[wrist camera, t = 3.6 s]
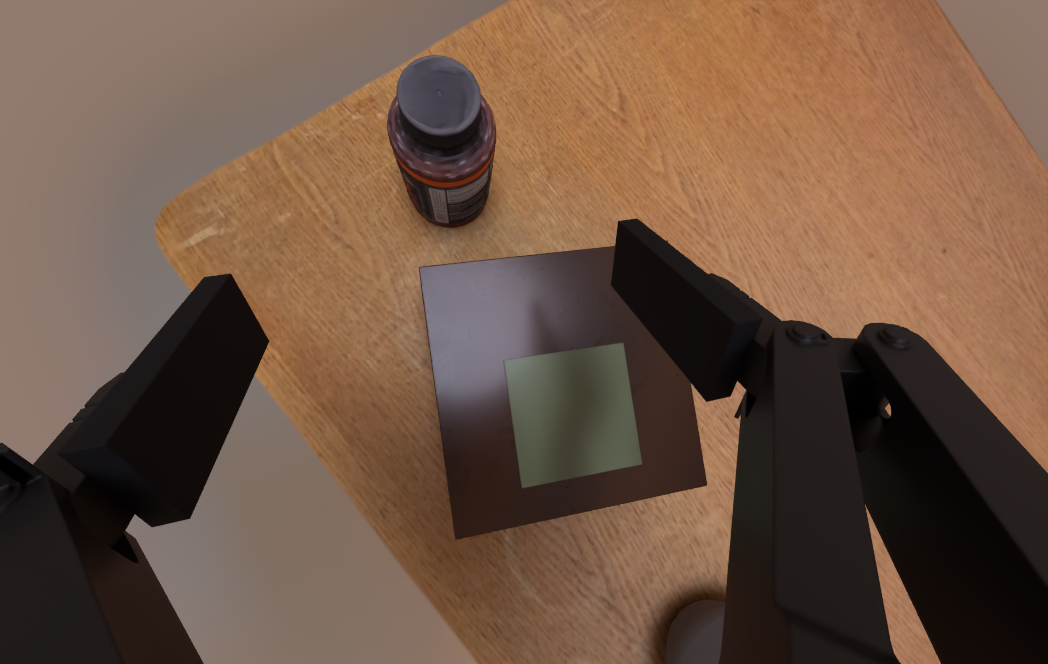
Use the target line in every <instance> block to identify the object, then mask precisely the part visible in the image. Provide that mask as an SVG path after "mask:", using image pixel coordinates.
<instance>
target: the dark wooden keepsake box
mask: <svg viewBox="0 0 1048 664" xmlns="http://www.w3.org/2000/svg"><path fill="white" fill-rule="evenodd" d="M666 242H668V241H666ZM614 253H615V246H611V247H601V248H592V249H583V250H573V251H564V252H555V253H545V254H536V255H527V256H517V257H508V258H499V259H489V260H480V261H471V262H461V263H452V264H443V265H433V266H424V267H419V273H420V280H421V288H422V295H423V303H424V310H425V318H426V325H427V332H428V340H429V347H430V355H431V362H432V370H433V377H434V385H435V392H436V400H437V407H438V415H439V422H440V430H441V437H442V444H443V452H444V459H445V467H446V474H447V482H448V489H449V497H450V504H451V512H452V519H453V527H454V534H455V539H456V540H457V539H462V538H466V537H471V536H476V535H480V534H485V533H490V532H494V531H499V530H503V529H508V528H513V527H517V526H522V525H527V524H531V523H536V522H540V521H545V520H550V519H554V518H559V517H564V516H568V515H573V514H578V513H582V512H587V511H591V510H596V509H601V508H605V507H610V506H615V505H619V504H624V503H629V502H633V501H638V500H642V499H647V498H652V497H656V496H661V495H666V494H670V493H675V492H679V491H684V490H689V489H693V488H698V487H703V486H707V481H706V474H705V468H704V462H703V456H702V450H701V444H700V437H699V431H698V425H697V419H696V413H695V407H694V400H693V394H692V388H691V382H690V381H689V380H688V379H687V377H686V376H685V375H684V374H683V372H682V371H681V370H680V369H679V368H678V366H677V365H676V364H675V363H674V362H673V360H672V359H671V358H670V357H669V355H668V354H667V353H666V352H665V351H664V349H663V348H662V347H661V346H660V345H659V343H658V342H657V341H656V340H655V338H654V337H653V336H652V335H651V334H650V332H649V331H648V330H647V329H646V328H645V326H644V325H643V324H642V323H641V321H640V320H639V319H638V318H637V317H636V315H635V314H634V313H633V312H632V310H631V309H630V308H629V307H628V306H627V304H626V303H625V302H624V301H623V300H622V298H621V297H620V296H619V295H618V293H617V292H616V291H615V290H614V289H613V287H612V286H611V279H612V270H613V262H614Z"/></svg>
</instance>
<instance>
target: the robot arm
mask: <svg viewBox="0 0 1048 664" xmlns="http://www.w3.org/2000/svg"><path fill="white" fill-rule="evenodd" d="M611 286H612V287H613V289H614V290H615V291H616V292H617V293H618V295H619V296H620V297H621V298H622V300H623V301H624V302H625V303H626V304H627V306H628V307H629V308H630V309H631V310H632V312H633V313H634V314H635V315H636V317H637V318H638V319H639V320H640V321H641V323H642V324H643V325H644V326H645V328H646V329H647V330H648V331H649V332H650V334H651V335H652V336H653V337H654V338H655V340H656V341H657V342H658V343H659V345H660V346H661V347H662V348H663V349H664V351H665V352H666V353H667V354H668V355H669V357H670V358H671V359H672V360H673V362H674V363H675V364H676V365H677V366H678V368H679V369H680V370H681V371H682V372H683V374H684V375H685V376H686V377H687V379H688V380H689V381H690V382H691V383H692V385H693V386H694V387H695V388H696V390H697V391H698V392H699V393H700V394H701V396H702V397H703V398H704V399H705V400H706V402H708V401H712V400H717V399H721V398H726V397H730V396H731V394H732V392H733V389H734V387H735V385H736V382H737V381H738V382H739V383H740V384H741V385H742V386H743V387H744V388H745V389H746V392H745V394H744V396H743V399H742V401H741V403H740V405H739V408H738V410H737V412H736V414H735V416H734V417H735V418H739V416H740V415H741V420H740V432H739V444H738V456H737V467H736V479H735V491H734V503H733V515H732V527H731V539H730V551H729V563H728V574H727V586H726V598H725V610H724V622H723V634H722V646H721V654H720V659H719V664H901V663H899V661H898V659H897V658H896V656H895V654H894V651H893V648H892V645H891V641H890V635H889V630H888V625H887V619H886V614H885V609H884V603H883V598H882V593H881V587H880V582H879V577H878V571H877V566H876V561H875V555H874V550H873V544H872V539H871V534H870V528H869V523H868V518H867V512H866V507H867V509H868V511H869V513H870V515H871V517H872V519H873V521H874V524H875V526H876V528H877V530H878V532H879V534H880V536H881V538H882V540H883V542H884V545H885V547H886V549H887V551H888V553H889V555H890V557H891V559H892V561H893V563H894V566H895V568H896V570H897V572H898V574H899V576H900V578H901V580H902V582H903V585H904V587H905V589H906V591H907V593H908V595H909V597H910V599H911V601H912V603H913V606H914V608H915V610H916V612H917V614H918V616H919V618H920V620H921V622H922V624H923V627H924V629H925V631H926V633H927V635H928V637H929V639H930V641H931V643H932V645H933V648H934V650H935V652H936V654H937V656H938V658H939V660H940V662H941V664H1048V473H1047V472H1046V471H1045V470H1044V469H1043V468H1042V467H1041V465H1040V464H1039V463H1038V462H1037V461H1036V460H1035V459H1034V458H1033V457H1032V456H1031V455H1030V453H1029V452H1028V451H1027V450H1026V449H1025V448H1024V447H1023V446H1022V445H1021V444H1020V443H1019V441H1018V440H1017V439H1016V438H1015V437H1014V436H1013V435H1012V434H1011V433H1010V432H1009V431H1008V429H1007V428H1006V427H1005V426H1004V425H1003V424H1002V423H1001V422H1000V421H999V420H998V419H997V417H996V416H995V415H994V414H993V413H992V412H991V411H990V410H989V409H988V408H987V406H986V405H985V404H984V403H983V402H982V401H981V400H980V399H979V398H978V397H977V396H976V394H975V393H974V392H973V391H972V390H971V389H970V388H969V387H968V386H967V385H966V384H965V382H964V381H963V380H962V379H961V378H960V377H959V376H958V375H957V374H956V373H955V372H954V370H953V369H952V368H951V367H950V366H949V365H948V364H947V363H946V362H945V361H944V360H943V358H942V357H941V356H940V355H939V354H938V353H937V352H936V351H935V350H934V349H933V348H932V346H931V345H930V344H929V343H928V342H927V341H926V340H924V339H923V338H922V337H921V336H919V335H918V334H916V333H914V332H912V331H910V330H909V329H907V328H904V327H900V326H898V325H894V324H886V323H870V324H868V325H865V326H864V328H863V329H862V331H861V333H860V334H859V336H858V337H857V339H850V338H832V337H831V336H830V335H829V334H828V333H827V332H826V331H824V330H823V329H821V328H819V327H817V326H815V325H812V324H809V323H806V322H802V321H793V320H789V321H781V320H780V319H779V318H777V317H776V316H775V315H773V314H772V313H771V312H769V311H768V310H767V309H766V308H764V307H763V306H762V305H760V304H759V303H758V302H756V301H755V300H754V299H752V298H749V296H748V295H747V294H746V293H744V292H743V291H740V289H739V288H738V287H736V286H735V285H734V284H733V283H731V282H730V281H729V280H727V279H724V278H722V277H720V276H717V275H715V274H713V273H711V274H707V273H706V272H704V271H703V270H702V269H701V268H699V267H698V266H697V265H695V264H694V263H693V262H692V261H690V260H689V259H688V258H687V257H685V256H684V255H683V254H682V253H680V252H679V251H678V250H676V249H675V248H674V247H673V246H671V245H670V244H669V243H668V242H666V241H665V240H664V239H662V238H661V237H660V236H659V235H657V234H656V233H655V232H654V231H652V230H651V229H650V228H649V227H647V226H646V225H645V224H643V223H642V222H641V221H640V220H638V219H630V220H623V221H618V227H617V236H616V244H615V253H614V262H613V270H612V279H611ZM268 343H269V340H268V338H267V336H266V335H265V333H264V331H263V329H262V327H261V326H260V324H259V322H258V320H257V319H256V317H255V315H254V313H253V312H252V310H251V308H250V306H249V304H248V303H247V301H246V299H245V297H244V296H243V294H242V292H241V290H240V289H239V287H238V285H237V283H236V282H235V280H234V278H233V276H232V274H224V275H217V276H209V277H204V278H203V279H202V280H201V282H200V283H199V284H198V285H197V286H196V288H195V289H194V290H193V291H192V292H191V294H190V295H189V296H188V297H187V299H186V300H185V301H184V302H183V303H182V304H181V306H180V307H179V308H178V309H177V310H176V312H175V313H174V314H173V315H172V316H171V318H170V319H169V320H168V321H167V322H166V324H165V325H164V326H163V327H162V328H161V330H160V331H159V332H158V333H157V334H156V335H155V337H154V338H153V339H152V340H151V341H150V343H149V344H148V345H147V346H146V347H145V349H144V350H143V351H142V352H141V353H140V355H139V356H138V357H137V358H136V359H135V361H134V362H133V363H132V364H131V365H130V367H129V368H128V369H127V370H126V371H125V372H124V373H120V374H119V375H117V376H116V377H114V378H113V379H112V380H110V381H109V382H108V383H106V384H105V385H104V386H102V387H101V388H100V389H98V391H97V392H96V393H95V394H94V395H93V396H92V397H91V399H90V400H89V401H88V402H87V403H86V404H85V408H83V409H81V410H80V411H79V413H77V415H76V416H75V417H74V418H73V422H72V423H69V424H68V425H67V426H66V427H65V428H64V430H63V431H62V432H61V433H60V434H59V435H58V436H57V438H56V439H55V440H54V441H53V442H52V443H51V445H50V446H49V447H48V448H47V449H46V450H45V451H44V453H43V454H42V455H41V456H40V457H39V459H37V461H36V462H35V463H34V464H33V465H32V464H31V463H30V462H28V461H27V460H25V459H24V458H22V457H21V456H20V455H18V454H17V453H16V452H14V451H13V450H11V449H10V448H8V447H7V446H6V445H4V444H3V443H0V664H203V662H202V660H201V658H200V656H199V654H198V652H197V651H196V649H195V647H194V645H193V643H192V641H191V639H190V638H189V636H188V634H187V632H186V630H185V628H184V627H183V625H182V623H181V621H180V619H179V618H178V616H177V614H176V612H175V610H174V608H173V607H172V605H171V603H170V601H169V599H168V597H167V595H166V594H165V592H164V590H163V588H162V586H161V584H160V582H159V581H158V579H157V577H156V575H155V573H154V572H153V570H152V568H151V566H150V564H149V562H148V561H147V559H146V557H145V555H144V553H143V551H142V549H141V548H140V546H139V544H138V542H137V540H136V539H135V538H134V537H133V536H132V535H130V534H129V533H127V532H126V531H125V530H126V528H127V527H128V525H129V523H130V521H131V519H132V518H133V516H134V514H136V515H137V516H138V517H139V518H141V519H142V520H143V521H144V522H146V523H147V524H148V525H150V526H151V527H156V526H160V525H164V524H169V523H173V522H177V521H182V520H186V519H190V518H191V515H192V513H193V511H194V509H195V506H196V504H197V502H198V500H199V497H200V495H201V493H202V491H203V489H204V486H205V484H206V482H207V480H208V477H209V475H210V473H211V470H212V468H213V466H214V464H215V462H216V459H217V457H218V455H219V453H220V450H221V448H222V446H223V444H224V442H225V439H226V437H227V434H228V433H229V430H230V428H231V426H232V424H233V421H234V419H235V417H236V415H237V412H238V410H239V408H240V405H241V403H242V401H243V399H244V397H245V394H246V392H247V390H248V388H249V386H250V383H251V381H252V379H253V377H254V374H255V372H256V370H257V368H258V365H259V363H260V361H261V359H262V356H263V354H264V352H265V350H266V348H267V345H268ZM888 404H890V406H891V417H890V416H889V414H888V413H887V411H886V410H885V407H886V406H887V405H888ZM865 505H866V507H865Z"/></svg>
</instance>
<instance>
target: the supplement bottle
mask: <svg viewBox="0 0 1048 664" xmlns="http://www.w3.org/2000/svg"><path fill="white" fill-rule="evenodd" d="M387 128H388V136H389V139H390V143H391V146H392V149H393V153H394V155H395V158H396V161H397V164H398V167H399V169H400V172H401V174H402V177H403V180H404V183H405V185H406V188H407V192H408V194H409V197H410V199H411V201H412V202H413V204H414V206H415V208H416V209H417V210H418V211H419V213H420V214H421V215H422V216H424V217H425V218H426V219H427V220H429V221H431V222H433V223H435V224H438V225H442V226H450V227H454V226H460V225H463V224H466V223H468V222H470V221H472V220H473V219H474V218H476V217H477V216H478V215H479V214H480V212H481V211H482V210H483V208H484V206H485V204H486V201H487V198H488V194H489V187H490V180H491V173H492V167H493V159H494V152H495V144H496V125H495V120H494V116H493V113H492V111H491V108H490V106H489V105H488V103H487V101H486V100H485V99H484V97H483V96H482V95H481V94H480V89H479V85H478V83H477V81H476V79H475V77H474V76H473V74H472V73H471V72H470V71H469V70H468V69H467V68H466V67H465V66H464V65H463V64H461V63H460V62H458V61H456V60H454V59H451V58H449V57H446V56H438V55H432V56H425V57H421V58H420V59H417V60H415V61H413V62H412V63H410V64H409V65H408V66H407V67H406V68H405V69H404V70H403V72H402V74H401V76H400V78H399V81H398V85H397V95H396V97H395V98H394V100H393V101H392V104H391V107H390V109H389V113H388V121H387Z"/></svg>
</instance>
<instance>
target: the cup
mask: <svg viewBox="0 0 1048 664" xmlns="http://www.w3.org/2000/svg"><path fill="white" fill-rule="evenodd" d="M724 610H725V602H723V601H717V600H711V599H704V600H700V601H696V602H692V603H691V604H689V605H688V606H686V607H685V608H684V609H682V610H681V611H680V612H679V613H678V615H677V616H676V617H675V619H674V620H673V621H672V623H671V626H670V629H669V632H668V634H667V637H666V664H719V659H720V654H721V646H722V634H723V622H724Z"/></svg>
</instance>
